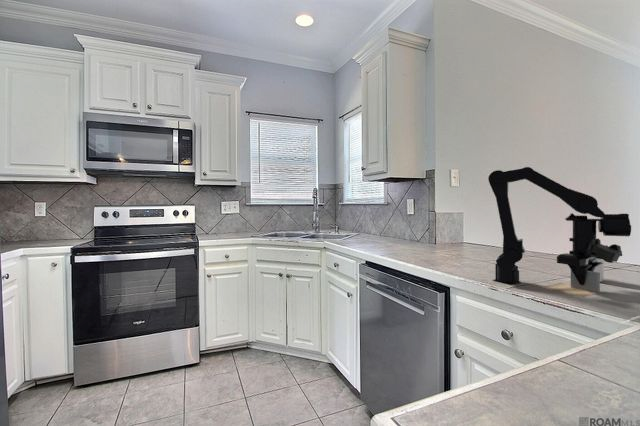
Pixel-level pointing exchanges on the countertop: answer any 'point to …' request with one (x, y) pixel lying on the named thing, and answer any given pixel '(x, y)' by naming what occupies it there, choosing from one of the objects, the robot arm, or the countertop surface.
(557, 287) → the cork mat
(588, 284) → the slate tile
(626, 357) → the countertop surface
